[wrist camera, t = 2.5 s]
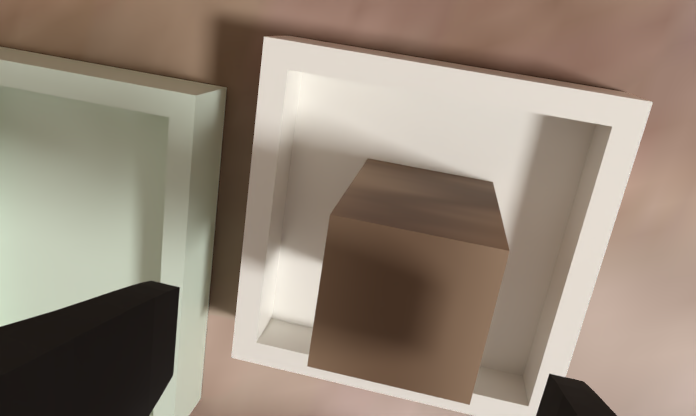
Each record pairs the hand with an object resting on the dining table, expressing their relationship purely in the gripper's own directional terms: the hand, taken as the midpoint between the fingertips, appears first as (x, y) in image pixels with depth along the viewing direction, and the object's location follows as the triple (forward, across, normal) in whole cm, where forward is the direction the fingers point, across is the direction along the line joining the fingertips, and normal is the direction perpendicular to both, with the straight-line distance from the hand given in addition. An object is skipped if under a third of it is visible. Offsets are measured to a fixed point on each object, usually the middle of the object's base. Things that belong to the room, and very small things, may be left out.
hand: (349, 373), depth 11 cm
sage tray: (+9, +11, +3) cm, 15 cm away
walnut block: (+9, -1, 0) cm, 9 cm away
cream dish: (+9, -1, 0) cm, 9 cm away
